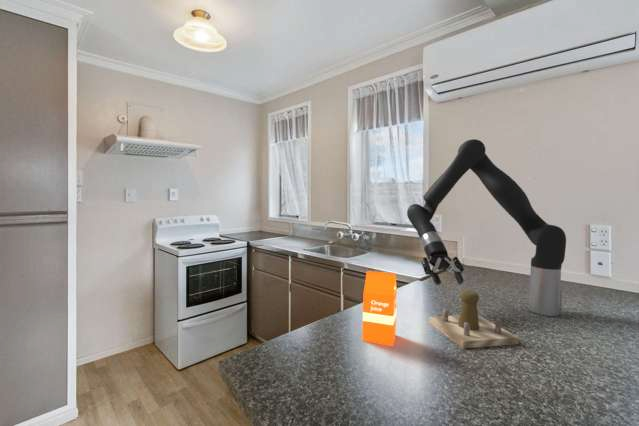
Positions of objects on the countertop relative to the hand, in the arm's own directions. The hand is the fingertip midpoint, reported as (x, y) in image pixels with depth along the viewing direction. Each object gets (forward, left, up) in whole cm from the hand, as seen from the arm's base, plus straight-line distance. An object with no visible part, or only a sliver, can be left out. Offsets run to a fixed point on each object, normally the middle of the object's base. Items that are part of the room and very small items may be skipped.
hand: (450, 283), depth 107 cm
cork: (+1, +11, -11) cm, 15 cm away
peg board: (0, +11, -13) cm, 17 cm away
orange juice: (+30, +10, -13) cm, 34 cm away
